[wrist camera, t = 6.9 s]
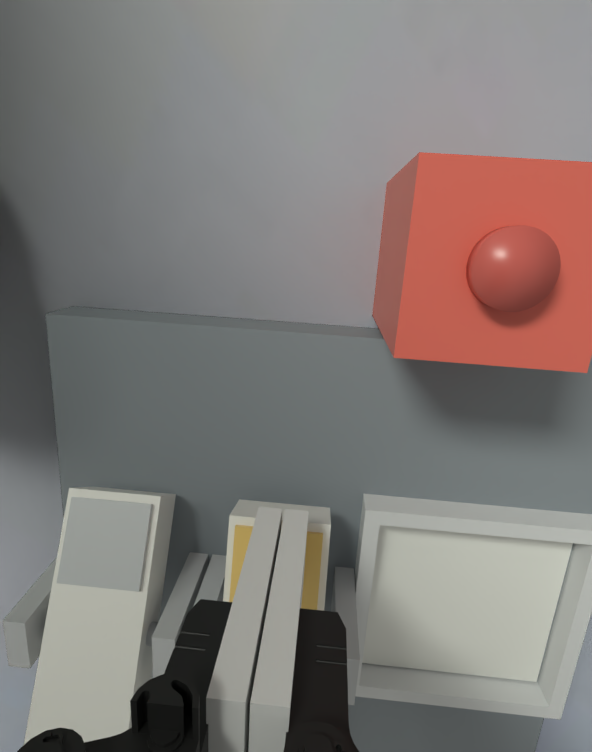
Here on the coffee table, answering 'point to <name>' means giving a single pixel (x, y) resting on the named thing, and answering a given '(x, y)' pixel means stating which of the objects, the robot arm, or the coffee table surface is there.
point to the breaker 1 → (101, 611)
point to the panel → (352, 503)
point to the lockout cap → (488, 262)
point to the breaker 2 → (316, 529)
